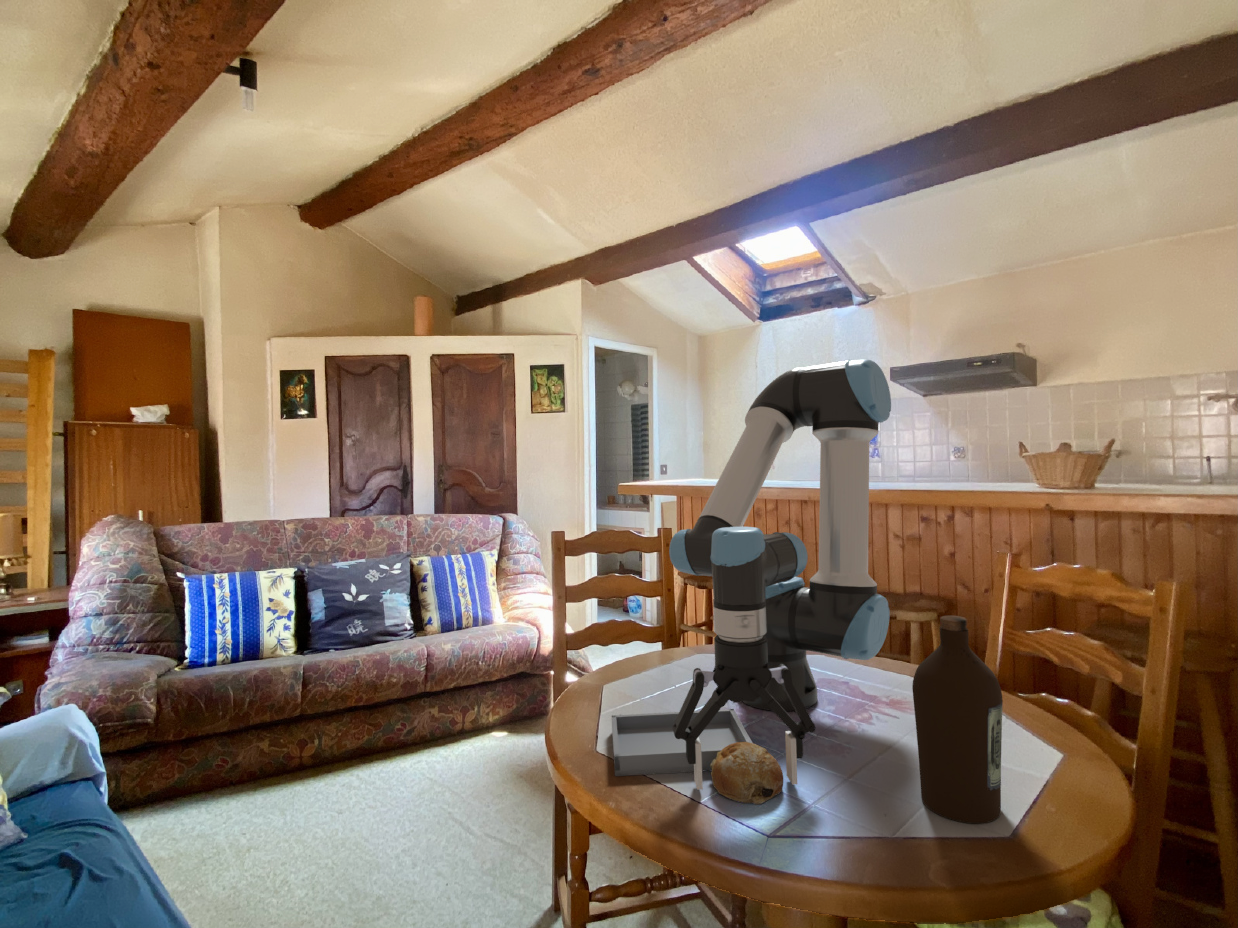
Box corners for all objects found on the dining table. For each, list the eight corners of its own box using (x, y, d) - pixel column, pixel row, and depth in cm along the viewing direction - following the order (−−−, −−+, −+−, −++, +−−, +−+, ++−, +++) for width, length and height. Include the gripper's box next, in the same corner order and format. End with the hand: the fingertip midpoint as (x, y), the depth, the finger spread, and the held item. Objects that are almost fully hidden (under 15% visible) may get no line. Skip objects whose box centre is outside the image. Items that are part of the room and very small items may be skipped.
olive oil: (910, 813, 84) (903, 623, 84) (922, 777, 93) (916, 606, 93) (1004, 836, 79) (997, 632, 78) (1007, 796, 88) (1001, 613, 87)
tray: (734, 725, 114) (733, 708, 114) (756, 768, 98) (755, 748, 98) (612, 732, 113) (611, 715, 113) (615, 776, 97) (614, 756, 97)
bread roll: (732, 833, 88) (746, 791, 85) (692, 773, 96) (704, 733, 93) (787, 812, 92) (802, 772, 89) (745, 756, 101) (758, 717, 98)
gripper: (656, 646, 89) (661, 800, 89) (835, 638, 89) (840, 791, 89) (651, 632, 96) (656, 774, 96) (816, 625, 97) (821, 765, 97)
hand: (745, 782), depth 93 cm, fingers open, 13 cm apart
